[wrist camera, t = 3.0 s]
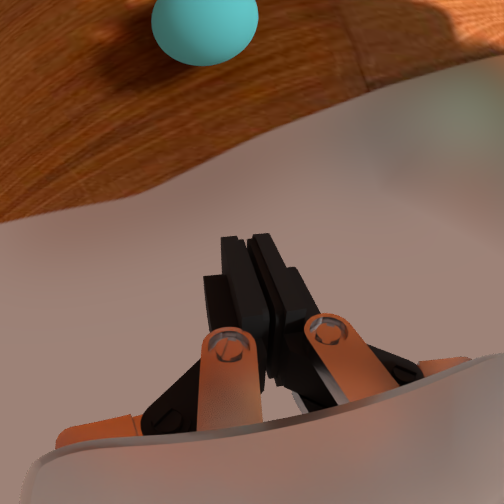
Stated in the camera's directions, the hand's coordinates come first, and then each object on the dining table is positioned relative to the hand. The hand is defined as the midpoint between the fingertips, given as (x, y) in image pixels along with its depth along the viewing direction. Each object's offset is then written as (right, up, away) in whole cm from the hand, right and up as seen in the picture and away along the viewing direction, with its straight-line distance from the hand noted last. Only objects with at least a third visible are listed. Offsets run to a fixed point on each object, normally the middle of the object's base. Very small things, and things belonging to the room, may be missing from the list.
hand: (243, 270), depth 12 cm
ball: (-2, +14, +3) cm, 14 cm away
